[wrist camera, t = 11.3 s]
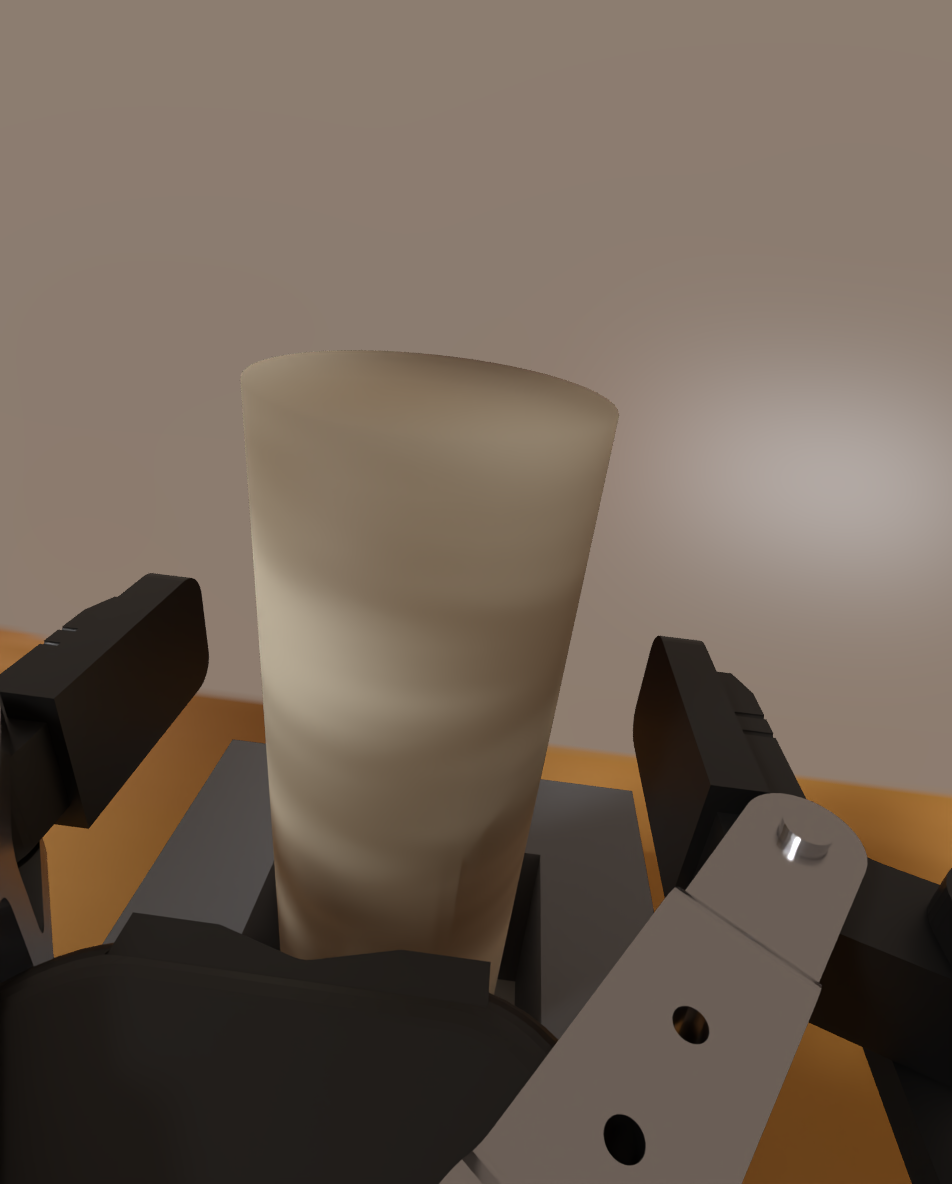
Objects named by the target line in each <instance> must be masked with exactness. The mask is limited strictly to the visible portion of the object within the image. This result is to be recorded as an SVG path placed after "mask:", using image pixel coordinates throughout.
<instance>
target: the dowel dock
mask: <svg viewBox="0 0 952 1184" xmlns="http://www.w3.org/2000/svg"><path fill="white" fill-rule="evenodd" d="M133 912H135V913H142V914H149V915H156V916H164V917H171V918H178V919H185V920H192V921H199V922H207V923H214V924H220V925H222V926H225V927H227V928H229V929H231V930H234V931H236V932H238V933H240V934H243V935H245V936H247V937H249V938H252V939H254V940H256V941H258V942H261V943H263V944H265V945H267V946H270V947H272V948H274V949H277V950H279V951H280V937H279V923H278V908H277V894H276V880H275V865H274V851H273V837H272V822H271V808H270V794H269V779H268V765H267V751H266V744H264V743H256V742H248V741H240V740H232V742H231V743H230V745H229V746H228V748H227V749H226V751H225V753H224V754H223V756H222V757H221V759H220V760H219V762H218V764H217V765H216V767H215V768H214V770H213V771H212V773H211V775H210V776H209V778H208V779H207V781H206V782H205V784H204V786H203V787H202V789H201V790H200V792H199V793H198V795H197V797H196V798H195V800H194V801H193V803H192V804H191V806H190V808H189V809H188V811H187V812H186V814H185V815H184V817H183V819H182V820H181V822H180V823H179V825H178V826H177V828H176V829H175V831H174V833H173V834H172V836H171V837H170V839H169V840H168V842H167V844H166V845H165V847H164V848H163V850H162V851H161V853H160V855H159V856H158V858H157V859H156V861H155V862H154V864H153V866H152V867H151V869H150V870H149V872H148V873H147V875H146V877H145V878H144V880H143V881H142V883H141V884H140V886H139V888H138V889H137V891H136V892H135V894H134V895H133V897H132V899H131V900H130V902H129V903H128V905H127V906H126V908H125V910H124V911H123V913H122V914H121V916H120V917H119V919H118V921H117V922H116V924H115V925H114V927H113V928H112V930H111V931H110V933H109V935H108V936H107V938H106V939H105V941H104V942H103V944H108V943H114V942H115V940H116V939H117V937H118V935H119V934H120V932H121V931H122V929H123V927H124V926H125V924H126V923H127V921H128V919H129V918H130V916H131V915H132V913H133ZM653 914H654V910H653V904H652V899H651V893H650V888H649V882H648V877H647V871H646V865H645V860H644V854H643V849H642V843H641V838H640V832H639V827H638V821H637V816H636V810H635V805H634V799H633V794H632V791H627V790H619V789H612V788H604V787H596V786H588V785H581V784H573V783H565V782H558V781H550V780H542V779H540V784H539V788H538V793H537V797H536V802H535V807H534V811H533V816H532V821H531V825H530V830H529V834H528V839H527V844H526V848H525V853H524V858H523V862H522V867H521V872H520V876H519V881H518V885H517V890H516V895H515V899H514V904H513V909H512V913H511V918H510V922H509V927H508V932H507V936H506V941H505V946H504V950H503V955H502V959H501V964H500V969H499V973H498V978H497V983H496V987H495V992H494V995H495V996H498V997H500V998H502V999H504V1000H506V1001H508V1002H510V1003H511V1004H513V1005H515V1006H516V1007H518V1008H520V1009H521V1010H523V1011H525V1012H526V1013H528V1014H529V1015H530V1016H532V1017H533V1018H534V1019H535V1020H537V1021H538V1022H539V1023H541V1024H542V1025H543V1026H545V1027H546V1028H547V1029H548V1030H549V1031H550V1032H551V1033H552V1034H553V1035H554V1036H555V1037H556V1038H557V1039H558V1040H559V1039H560V1038H561V1036H562V1035H563V1034H564V1032H565V1031H566V1030H567V1028H568V1027H569V1026H570V1024H571V1023H572V1022H573V1020H574V1019H575V1018H576V1016H577V1015H578V1014H579V1012H580V1011H581V1010H582V1008H583V1007H584V1006H585V1004H586V1003H587V1002H588V1000H589V999H590V998H591V996H592V995H593V994H594V992H595V991H596V990H597V988H598V987H599V986H600V984H601V983H602V982H603V980H604V979H605V978H606V976H607V975H608V974H609V972H610V971H611V970H612V968H613V967H614V966H615V964H616V963H617V962H618V960H619V959H620V958H621V956H622V955H623V954H624V952H625V951H626V950H627V948H628V947H629V946H630V944H631V943H632V942H633V940H634V939H635V938H636V936H637V935H638V934H639V932H640V931H641V930H642V928H643V927H644V926H645V924H646V923H647V922H648V920H649V919H650V918H651V916H652V915H653ZM103 944H102V945H103Z"/></svg>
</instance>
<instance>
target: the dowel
mask: <svg viewBox="0 0 952 1184" xmlns="http://www.w3.org/2000/svg"><path fill="white" fill-rule="evenodd" d="M241 391H242V392H241V393H242V406H243V420H244V435H245V450H246V464H247V479H248V492H249V506H250V521H251V536H252V548H253V549H252V550H253V565H254V579H255V593H256V608H257V620H258V621H257V622H258V636H259V651H260V665H261V678H262V694H263V708H264V722H265V736H266V751H267V765H268V779H269V794H270V808H271V822H272V837H273V851H274V865H275V880H276V894H277V908H278V923H279V937H280V951H281V952H283V953H286V954H288V955H290V956H292V957H295V958H298V959H303V960H314V959H323V958H332V957H341V956H349V955H358V954H367V953H376V952H385V951H394V950H408V951H415V952H423V953H430V954H437V955H444V956H451V957H459V958H466V959H473V960H480V961H487V962H491V966H490V981H489V993H491V994H493V995H494V992H495V987H496V983H497V978H498V973H499V969H500V964H501V959H502V955H503V950H504V946H505V941H506V936H507V932H508V927H509V922H510V918H511V913H512V909H513V904H514V899H515V895H516V890H517V885H518V881H519V876H520V872H521V867H522V862H523V858H524V853H525V848H526V844H527V839H528V834H529V830H530V825H531V821H532V816H533V811H534V807H535V802H536V797H537V793H538V788H539V784H540V779H541V774H542V770H543V765H544V760H545V756H546V751H547V747H548V742H549V737H550V733H551V728H552V723H553V719H554V713H555V709H556V705H557V700H558V696H559V691H560V686H561V681H562V677H563V672H564V668H565V663H566V659H567V654H568V649H569V644H570V640H571V635H572V631H573V626H574V621H575V617H576V612H577V608H578V603H579V598H580V593H581V589H582V584H583V580H584V575H585V571H586V566H587V561H588V557H589V552H590V547H591V543H592V538H593V534H594V529H595V524H596V520H597V515H598V510H599V506H600V501H601V496H602V492H603V487H604V483H605V478H606V473H607V469H608V464H609V460H610V454H611V450H612V446H613V441H614V436H615V432H616V427H617V423H618V418H619V413H618V409H617V408H616V407H615V405H614V404H613V403H612V402H610V401H609V400H608V399H607V398H605V397H603V396H602V395H600V394H598V393H596V392H594V391H592V390H590V389H587V388H585V387H583V386H580V385H578V384H575V383H572V382H569V381H566V380H563V379H560V378H557V377H553V376H550V375H546V374H543V373H539V372H535V371H531V370H526V369H522V368H517V367H512V366H507V365H502V364H497V363H491V362H485V361H479V360H473V359H465V358H458V357H450V356H442V355H432V354H422V353H409V352H393V351H366V350H364V351H363V350H353V351H352V350H347V351H346V350H344V351H343V350H341V351H319V352H305V353H297V354H289V355H283V356H278V357H273V358H269V359H265V360H262V361H259V362H256V363H254V364H252V365H251V366H249V367H247V368H246V369H245V370H244V371H243V372H242V374H241Z"/></svg>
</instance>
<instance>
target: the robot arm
mask: <svg viewBox="0 0 952 1184" xmlns="http://www.w3.org/2000/svg"><path fill="white" fill-rule="evenodd" d="M208 661H209V652H208V643H207V635H206V627H205V619H204V611H203V602H202V594H201V589H200V586H199V584H198V582H197V581H196V580H195V579H193V578H186V577H177V576H169V575H161V574H153V573H150V574H147V575H145V576H144V577H142V578H141V579H140V580H138V581H137V582H136V583H135V584H134V585H132V586H131V587H130V588H128V589H127V590H126V591H125V592H123V593H122V594H121V595H120V596H118V597H113V598H111V599H108V600H106V601H104V602H101V603H99V604H97V605H95V606H92V607H90V608H87V609H85V610H84V611H82V612H81V613H80V614H78V615H77V616H76V617H74V618H73V619H72V620H71V621H69V622H68V623H66V624H65V625H64V626H63V628H62V630H57V631H56V632H55V633H53V634H52V635H51V636H49V637H48V638H47V639H46V640H44V644H39V645H38V646H36V647H35V648H34V649H33V650H31V651H30V652H29V653H27V654H26V655H25V656H23V657H22V658H21V659H19V660H18V661H17V662H16V663H14V664H13V665H12V666H10V667H9V668H8V669H6V670H5V671H4V672H3V673H1V674H0V1184H742V1182H743V1179H744V1177H745V1174H746V1172H747V1169H748V1167H749V1165H750V1162H751V1160H752V1157H753V1155H754V1152H755V1150H756V1148H757V1145H758V1143H759V1140H760V1138H761V1135H762V1133H763V1131H764V1128H765V1126H766V1123H767V1121H768V1119H769V1116H770V1114H771V1111H772V1109H773V1106H774V1104H775V1102H776V1099H777V1097H778V1094H779V1092H780V1089H781V1087H782V1085H783V1082H784V1080H785V1077H786V1075H787V1073H788V1070H789V1068H790V1065H791V1063H792V1060H793V1058H794V1056H795V1053H796V1051H797V1048H798V1046H799V1043H800V1041H801V1039H802V1036H803V1034H804V1031H805V1029H806V1027H807V1024H808V1022H809V1023H811V1024H813V1025H816V1026H818V1027H820V1028H822V1029H824V1030H826V1031H829V1032H831V1033H833V1034H835V1035H837V1036H840V1037H842V1038H844V1039H846V1040H848V1041H851V1042H853V1043H855V1044H857V1045H859V1046H861V1047H863V1050H864V1053H865V1055H866V1058H867V1061H868V1064H869V1066H870V1069H871V1072H872V1075H873V1077H874V1080H875V1083H876V1086H877V1089H878V1091H879V1094H880V1097H881V1100H882V1102H883V1105H884V1108H885V1111H886V1113H887V1116H888V1119H889V1122H890V1124H891V1127H892V1130H893V1133H894V1135H895V1138H896V1141H897V1144H898V1147H899V1149H900V1152H901V1155H902V1158H903V1160H904V1163H905V1166H906V1169H907V1171H908V1174H909V1177H910V1180H911V1182H912V1184H952V868H951V870H950V871H949V872H948V874H947V875H946V877H945V878H944V880H943V881H942V883H941V885H938V884H936V883H933V882H930V881H927V880H925V879H922V878H919V877H917V876H914V875H911V874H908V873H906V872H903V871H900V870H897V869H895V868H892V867H889V866H887V865H884V864H881V863H879V862H877V861H874V860H872V859H870V858H868V857H867V855H866V852H865V849H864V847H863V845H862V843H861V841H860V840H859V838H858V837H857V835H856V834H855V833H854V832H853V831H852V829H851V828H850V827H849V826H848V825H847V824H846V823H844V822H843V821H842V820H841V819H840V818H839V817H837V816H836V815H834V814H833V813H832V812H830V811H829V810H827V809H825V808H824V807H822V806H820V805H818V804H816V803H814V802H812V801H809V800H807V799H806V798H805V796H804V794H803V792H802V790H801V788H800V786H799V784H798V782H797V780H796V778H795V776H794V774H793V772H792V770H791V768H790V766H789V764H788V762H787V760H786V758H785V756H784V754H783V752H782V750H781V748H780V746H779V744H778V742H777V740H776V738H773V732H772V730H771V728H770V726H769V724H768V722H767V721H766V720H765V719H764V714H763V712H762V710H761V708H760V707H759V704H758V702H757V700H756V698H755V696H754V694H753V693H752V692H751V691H749V689H747V688H746V687H745V686H744V685H743V684H742V683H741V682H740V681H739V680H738V679H737V678H736V677H734V676H733V675H732V674H731V673H723V672H716V670H715V667H714V665H713V662H712V660H711V658H710V656H709V653H708V651H707V649H706V647H705V645H704V643H703V642H702V641H697V640H689V639H681V638H673V637H665V636H657V637H656V638H655V639H654V641H653V644H652V647H651V651H650V654H649V658H648V662H647V666H646V670H645V674H644V677H643V681H642V686H641V689H640V693H639V697H638V701H637V705H636V709H635V714H634V723H633V742H634V748H635V752H636V758H637V763H638V768H639V773H640V778H641V782H642V787H643V792H644V797H645V802H646V807H647V812H648V817H649V822H650V827H651V832H652V837H653V842H654V847H655V852H656V857H657V862H658V866H659V871H660V876H661V881H662V886H663V891H664V896H665V899H664V900H663V902H662V903H661V904H660V906H659V907H658V908H657V910H656V911H655V912H654V914H653V915H652V916H651V918H650V919H649V920H648V922H647V923H646V924H645V926H644V927H643V928H642V930H641V931H640V932H639V934H638V935H637V936H636V938H635V939H634V940H633V942H632V943H631V944H630V946H629V947H628V948H627V950H626V951H625V952H624V954H623V955H622V956H621V958H620V959H619V960H618V962H617V963H616V964H615V966H614V967H613V968H612V970H611V971H610V972H609V974H608V975H607V976H606V978H605V979H604V980H603V982H602V983H601V984H600V986H599V987H598V988H597V990H596V991H595V992H594V994H593V995H592V996H591V998H590V999H589V1000H588V1002H587V1003H586V1004H585V1006H584V1007H583V1008H582V1010H581V1011H580V1012H579V1014H578V1015H577V1016H576V1018H575V1019H574V1020H573V1022H572V1023H571V1024H570V1026H569V1027H568V1028H567V1030H566V1031H565V1032H564V1034H563V1035H562V1036H561V1038H560V1039H559V1040H558V1039H557V1038H556V1037H555V1036H554V1035H553V1034H552V1033H551V1032H550V1031H549V1030H548V1029H547V1028H546V1027H545V1026H543V1025H542V1024H541V1023H539V1022H538V1021H537V1020H535V1019H534V1018H533V1017H532V1016H530V1015H529V1014H528V1013H526V1012H525V1011H523V1010H521V1009H520V1008H518V1007H516V1006H515V1005H513V1004H511V1003H510V1002H508V1001H506V1000H504V999H502V998H500V997H498V996H495V995H493V994H491V993H489V981H490V966H491V962H487V961H480V960H473V959H466V958H459V957H451V956H444V955H437V954H430V953H423V952H415V951H408V950H394V951H385V952H376V953H367V954H358V955H349V956H341V957H332V958H323V959H314V960H303V959H298V958H295V957H292V956H290V955H288V954H286V953H283V952H281V951H279V950H277V949H274V948H272V947H270V946H267V945H265V944H263V943H261V942H258V941H256V940H254V939H252V938H249V937H247V936H245V935H243V934H240V933H238V932H236V931H234V930H231V929H229V928H227V927H225V926H222V925H220V924H214V923H207V922H199V921H192V920H185V919H178V918H171V917H164V916H156V915H149V914H142V913H135V912H133V913H132V915H131V916H130V918H129V919H128V921H127V923H126V924H125V926H124V927H123V929H122V931H121V932H120V934H119V935H118V937H117V939H116V940H115V942H114V943H108V944H103V945H98V946H93V947H89V948H84V949H80V950H77V951H74V952H71V953H68V954H65V955H62V956H58V957H56V958H54V955H53V943H52V928H51V912H50V897H49V881H48V865H47V852H46V847H45V844H44V841H43V838H42V837H43V836H44V835H45V834H46V833H47V832H48V830H49V829H50V828H51V827H52V826H53V825H54V824H58V825H65V826H72V827H80V828H87V829H89V828H90V826H91V825H92V824H93V823H94V821H95V820H96V819H97V818H98V816H99V815H100V814H101V812H102V811H103V810H104V809H105V807H106V806H107V805H108V804H109V802H110V801H111V800H112V799H113V797H114V796H115V795H116V794H117V792H118V791H119V790H120V789H121V787H122V786H123V785H124V783H125V782H126V781H127V780H128V778H129V777H130V776H131V775H132V773H133V772H134V771H135V770H136V768H137V767H138V766H139V765H140V763H141V762H142V761H143V759H144V758H145V757H146V756H147V754H148V753H149V752H150V751H151V749H152V748H153V747H154V746H155V744H156V743H157V742H158V741H159V739H160V738H161V737H162V735H163V734H164V733H165V732H166V730H167V729H168V728H169V727H170V725H171V724H172V723H173V722H174V720H175V719H176V718H177V717H178V715H179V714H180V713H181V711H182V710H183V709H184V708H185V706H186V705H187V704H188V703H189V701H190V700H191V699H192V698H193V696H194V695H195V694H196V693H197V691H198V690H199V689H200V687H201V686H202V684H203V682H204V679H205V676H206V673H207V669H208V663H209V662H208Z"/></svg>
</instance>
